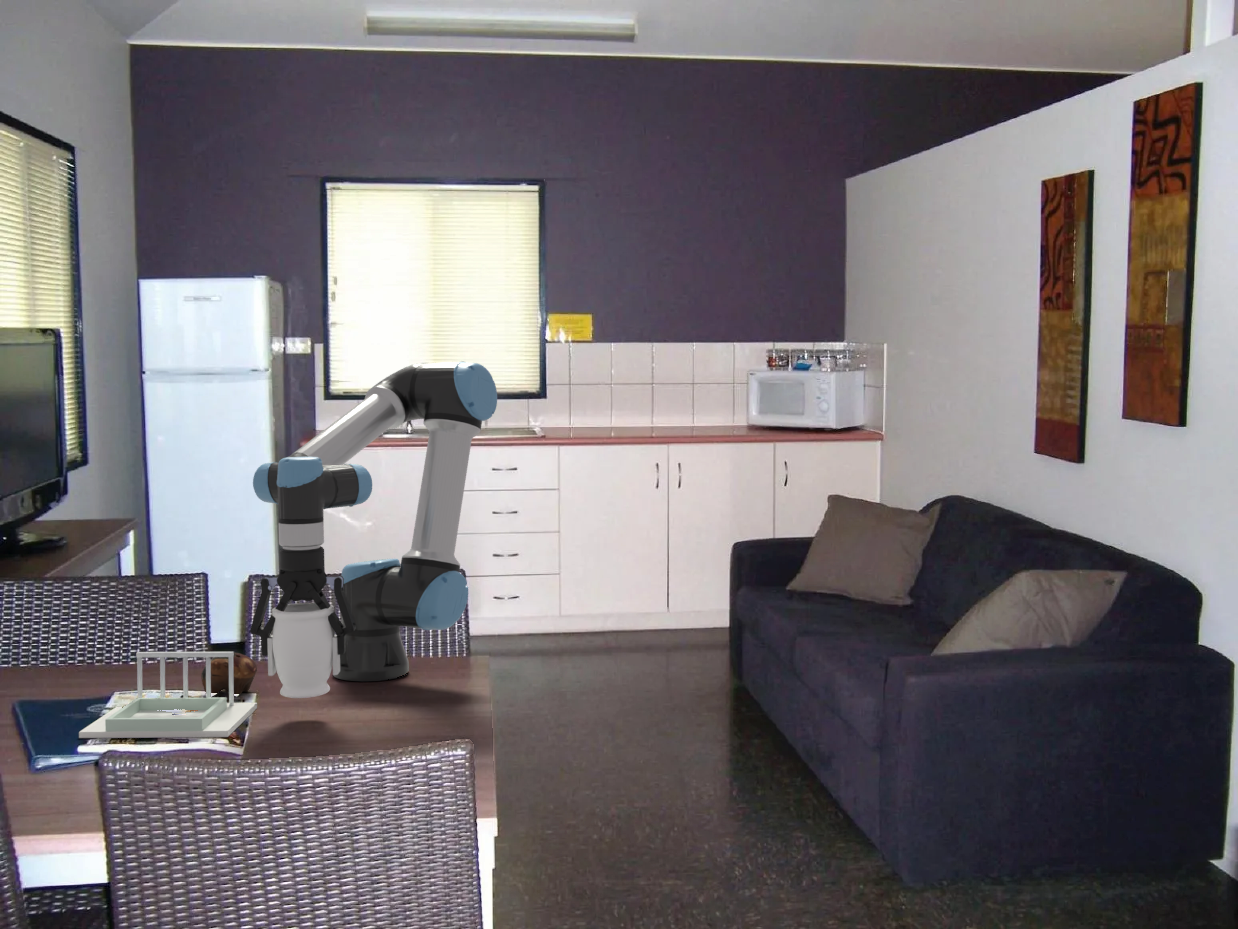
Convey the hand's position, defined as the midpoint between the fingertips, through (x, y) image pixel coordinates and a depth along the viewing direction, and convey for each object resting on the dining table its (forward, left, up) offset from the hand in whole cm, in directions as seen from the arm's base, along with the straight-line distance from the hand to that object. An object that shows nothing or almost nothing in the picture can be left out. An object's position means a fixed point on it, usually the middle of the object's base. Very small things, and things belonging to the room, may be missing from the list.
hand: (304, 673), depth 210 cm
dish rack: (+22, +1, -8) cm, 24 cm away
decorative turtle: (+18, -20, -8) cm, 28 cm away
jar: (0, 0, -4) cm, 4 cm away
